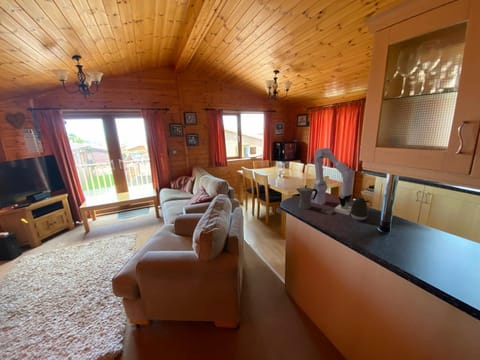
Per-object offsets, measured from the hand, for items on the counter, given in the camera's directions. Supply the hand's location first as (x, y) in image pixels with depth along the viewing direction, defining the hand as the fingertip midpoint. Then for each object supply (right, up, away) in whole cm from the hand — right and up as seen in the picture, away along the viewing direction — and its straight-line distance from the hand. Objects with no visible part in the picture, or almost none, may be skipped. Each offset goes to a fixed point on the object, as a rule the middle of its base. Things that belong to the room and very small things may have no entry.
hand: (344, 204), depth 145 cm
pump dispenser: (+4, -8, -10) cm, 13 cm away
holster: (-12, -6, +1) cm, 13 cm away
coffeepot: (-24, -4, +11) cm, 27 cm away
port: (0, -5, +1) cm, 5 cm away
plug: (0, -5, +1) cm, 5 cm away
